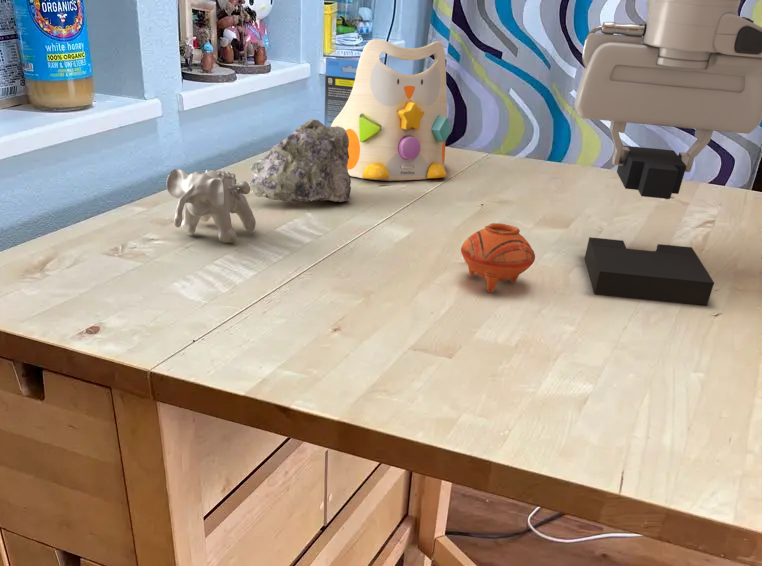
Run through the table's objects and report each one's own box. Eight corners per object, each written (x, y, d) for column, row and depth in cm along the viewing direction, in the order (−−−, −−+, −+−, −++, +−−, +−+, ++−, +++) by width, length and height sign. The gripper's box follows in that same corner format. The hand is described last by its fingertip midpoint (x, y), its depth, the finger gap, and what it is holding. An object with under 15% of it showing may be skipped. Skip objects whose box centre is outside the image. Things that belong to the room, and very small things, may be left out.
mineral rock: (248, 207, 106) (246, 122, 100) (262, 186, 114) (261, 107, 108) (345, 215, 105) (349, 131, 99) (352, 193, 114) (356, 114, 108)
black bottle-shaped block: (666, 177, 98) (673, 150, 96) (683, 200, 89) (691, 171, 88) (616, 172, 98) (623, 145, 97) (628, 195, 90) (635, 166, 88)
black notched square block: (685, 268, 96) (692, 247, 95) (706, 305, 87) (714, 282, 85) (584, 258, 97) (589, 237, 95) (594, 294, 88) (599, 271, 86)
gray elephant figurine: (259, 227, 99) (258, 160, 95) (242, 260, 90) (239, 187, 85) (185, 221, 99) (180, 154, 95) (159, 253, 90) (152, 180, 85)
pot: (440, 281, 87) (454, 215, 84) (475, 281, 93) (490, 219, 90) (504, 299, 83) (521, 230, 80) (537, 298, 89) (554, 234, 86)
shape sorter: (347, 185, 117) (354, 43, 106) (323, 167, 125) (327, 33, 114) (468, 180, 123) (485, 45, 113) (438, 163, 131) (452, 35, 120)
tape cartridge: (377, 140, 142) (382, 59, 134) (371, 144, 139) (376, 62, 131) (329, 134, 144) (332, 54, 136) (322, 138, 141) (325, 57, 133)
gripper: (592, 22, 84) (563, 165, 92) (793, 39, 82) (745, 183, 91) (586, 17, 89) (559, 153, 97) (776, 33, 87) (732, 169, 96)
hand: (650, 167), depth 94 cm, fingers closed on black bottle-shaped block, 6 cm apart
